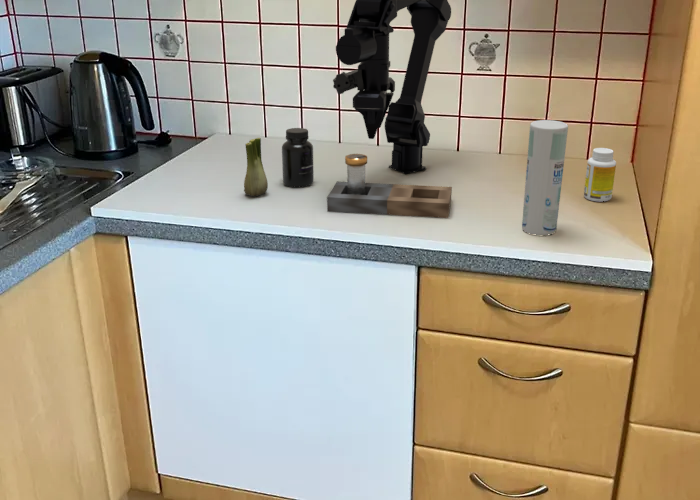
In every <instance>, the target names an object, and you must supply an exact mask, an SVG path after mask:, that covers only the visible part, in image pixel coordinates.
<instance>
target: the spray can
mask: <svg viewBox="0 0 700 500" xmlns="http://www.w3.org/2000/svg"><path fill="white" fill-rule="evenodd" d="M568 131H569V126H568V124H567V123H566V122H563V121H559V120H552V119H551V120H550V119H541V120H534V121H532V122H530V124H529V134H528V147H527V148H528V149H527V158H526V160H527V161H526V171H525V172H526V175H525V185H524V194H523V195H524V197H523V209H522V221H521V228H522V229H523V230H524V231H525V232H524V231H523V230H522V231H523V232H524V233H526V232H527V233H526V234H528V233H530V234H529V235H531V234H536V235H548V234H552V233H554V232H555V231H557V227H558V219H559V209H560V201H561V191H562V182H563V174H564V168H565V167H564V166H565V160H566V159H565V158H566V148H567V139H568ZM555 233H556V232H555ZM555 233H554V234H555ZM536 235H535V236H536ZM552 235H553V234H552ZM548 236H549V235H548Z"/></svg>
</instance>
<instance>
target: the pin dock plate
mask: <svg viewBox="0 0 700 500" xmlns="http://www.w3.org/2000/svg"><path fill="white" fill-rule="evenodd" d="M452 189H453V187H452V186H438V185H416V184H399V183H398V184H397V183H380V182H379V183H374V182H365V195H352V194H348V182H347V181H339V180H338V181H336V182H335V183H334V185H333V187H332V188H331V190H330V192H329V193H328V195H327V197H326V203H327V204H326V205H327V206H326V207H327V209H326V210H327V212H335V213H351V214H352V213H353V214H367V215H368V214H371V215H372V214H373V215H388V216H403V217H404V216H406V217H425V218H440V219H441V218H442V219H443V218H444V219H448V218H449V216H450V209H451V204H452V191H453V190H452Z"/></svg>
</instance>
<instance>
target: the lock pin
mask: <svg viewBox="0 0 700 500" xmlns="http://www.w3.org/2000/svg"><path fill="white" fill-rule="evenodd" d="M344 163H345V165H347V166H346V167H347V170H346V171H347V172H346V173H347V174H346V175H347V177H346V179H347V181H346V182H348V194H352V195H365V183H366V165H367V164H368V156H367V155H366V154H362V153H350V154H347V155H345V157H344Z"/></svg>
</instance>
